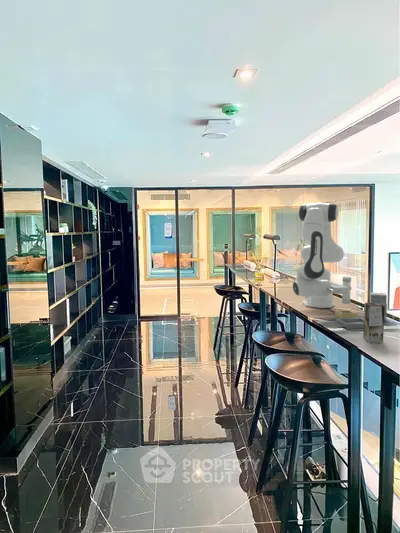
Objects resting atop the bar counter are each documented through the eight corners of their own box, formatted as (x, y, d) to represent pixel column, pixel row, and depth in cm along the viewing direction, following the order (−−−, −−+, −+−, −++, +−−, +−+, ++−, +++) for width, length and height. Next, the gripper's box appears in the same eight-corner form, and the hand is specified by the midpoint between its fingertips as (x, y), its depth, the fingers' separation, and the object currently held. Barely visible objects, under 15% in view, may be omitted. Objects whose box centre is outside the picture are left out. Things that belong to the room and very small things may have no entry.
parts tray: (335, 324, 204) (335, 318, 203) (361, 323, 205) (361, 317, 205) (346, 330, 192) (347, 323, 192) (373, 329, 194) (374, 323, 193)
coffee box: (383, 343, 169) (385, 306, 168) (367, 342, 171) (369, 305, 169) (378, 337, 178) (379, 302, 177) (363, 337, 179) (364, 301, 178)
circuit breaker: (370, 325, 201) (371, 296, 200) (369, 319, 214) (370, 292, 213) (386, 326, 198) (387, 297, 197) (384, 320, 211) (385, 293, 210)
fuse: (340, 302, 215) (341, 276, 214) (347, 302, 216) (348, 276, 214) (344, 303, 211) (344, 277, 209) (351, 303, 211) (352, 277, 210)
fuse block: (330, 317, 219) (330, 309, 219) (350, 317, 220) (350, 309, 220) (340, 322, 207) (340, 314, 207) (361, 322, 209) (362, 313, 208)
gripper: (332, 285, 200) (358, 284, 202) (316, 279, 221) (339, 279, 222) (332, 297, 201) (357, 296, 203) (315, 290, 221) (339, 290, 223)
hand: (348, 287), depth 213 cm, fingers closed on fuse, 4 cm apart
